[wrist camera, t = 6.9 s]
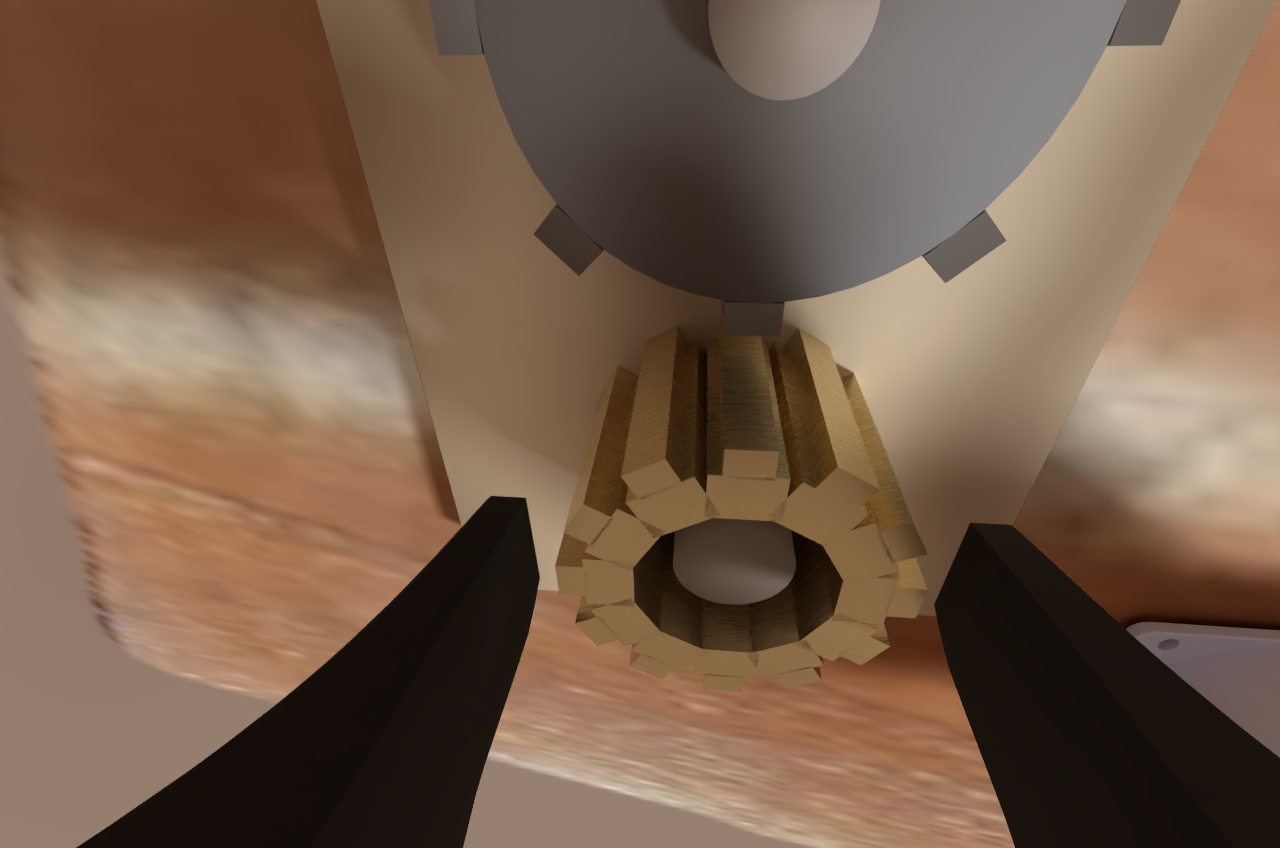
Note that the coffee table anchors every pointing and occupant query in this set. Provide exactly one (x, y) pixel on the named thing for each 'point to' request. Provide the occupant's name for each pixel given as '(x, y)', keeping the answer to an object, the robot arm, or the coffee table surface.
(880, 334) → the gear board
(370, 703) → the robot arm
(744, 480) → the brass gear
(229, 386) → the coffee table surface
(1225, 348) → the coffee table surface
